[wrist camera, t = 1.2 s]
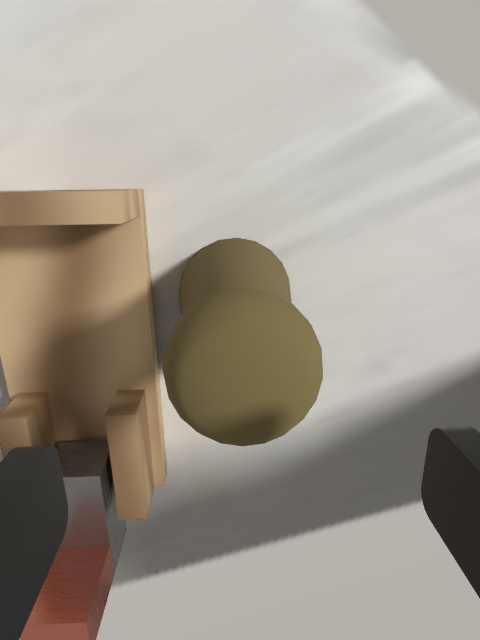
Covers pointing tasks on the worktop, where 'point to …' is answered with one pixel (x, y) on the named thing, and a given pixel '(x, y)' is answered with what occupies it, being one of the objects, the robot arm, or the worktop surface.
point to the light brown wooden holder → (82, 332)
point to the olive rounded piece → (240, 347)
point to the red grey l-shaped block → (81, 549)
